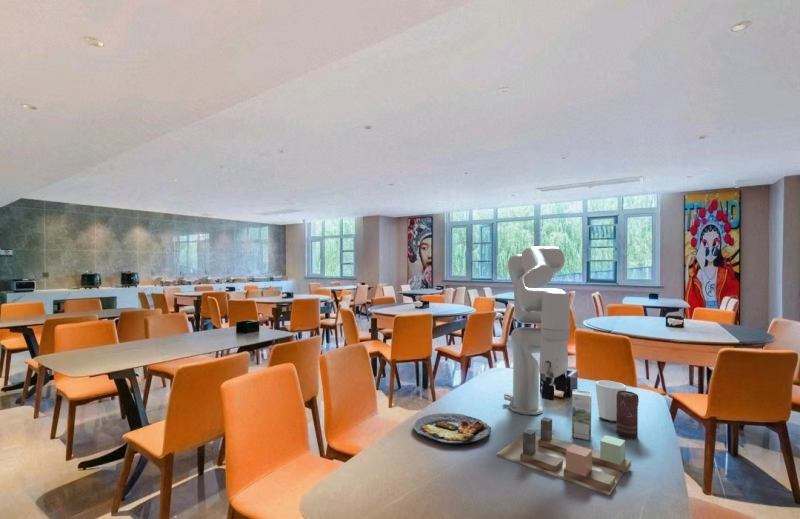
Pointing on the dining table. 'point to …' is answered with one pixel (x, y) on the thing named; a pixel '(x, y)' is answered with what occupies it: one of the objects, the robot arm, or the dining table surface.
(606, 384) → the cup
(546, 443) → the strip
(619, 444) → the cube
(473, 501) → the dining table surface
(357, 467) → the dining table surface
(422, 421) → the food plate
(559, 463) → the strip piece
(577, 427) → the syrup box
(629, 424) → the can
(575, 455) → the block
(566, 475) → the strip piece
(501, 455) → the board
